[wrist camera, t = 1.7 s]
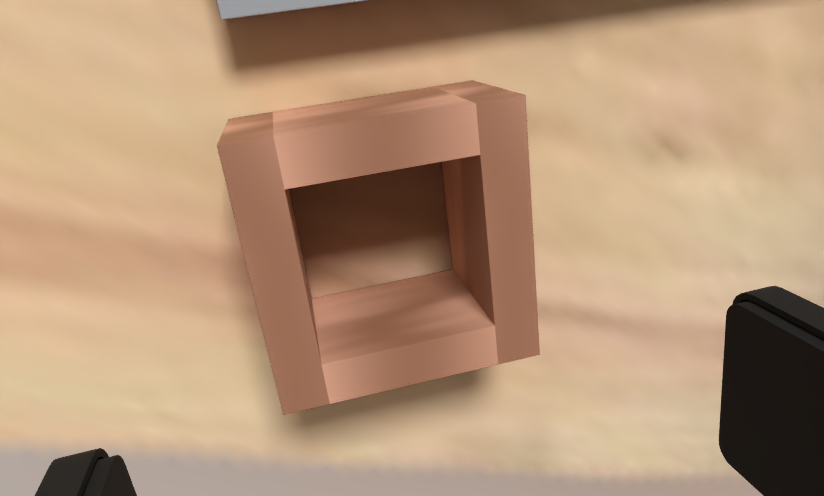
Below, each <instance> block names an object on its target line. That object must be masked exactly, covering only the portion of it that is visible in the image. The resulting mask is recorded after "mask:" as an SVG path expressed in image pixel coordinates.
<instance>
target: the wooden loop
mask: <svg viewBox="0 0 824 496" xmlns="http://www.w3.org/2000/svg"><path fill="white" fill-rule="evenodd" d="M217 148H218V152H219V156H220V160H221V164H222V168H223V173H224V177H225V181H226V185H227V189H228V193H229V197H230V201H231V205H232V209H233V213H234V217H235V221H236V225H237V229H238V233H239V237H240V241H241V245H242V249H243V253H244V257H245V262H246V266H247V270H248V274H249V278H250V282H251V286H252V290H253V294H254V298H255V302H256V306H257V310H258V314H259V318H260V322H261V326H262V330H263V334H264V338H265V342H266V346H267V351H268V355H269V359H270V363H271V367H272V371H273V375H274V379H275V383H276V387H277V391H278V395H279V399H280V403H281V407H282V411H283V415H285V414H289V413H294V412H298V411H302V410H306V409H311V408H315V407H319V406H323V405H328V404H332V403H336V402H340V401H345V400H349V399H353V398H357V397H362V396H366V395H370V394H374V393H379V392H383V391H387V390H391V389H396V388H400V387H404V386H408V385H413V384H417V383H421V382H425V381H430V380H434V379H438V378H442V377H447V376H451V375H455V374H459V373H464V372H468V371H472V370H476V369H481V368H485V367H489V366H493V365H498V364H502V363H506V362H510V361H515V360H519V359H523V358H527V357H532V356H536V355H540V351H539V333H538V314H537V296H536V278H535V260H534V241H533V223H532V205H531V187H530V169H529V150H528V132H527V114H526V96H525V95H523V94H519V93H516V92H512V91H509V90H505V89H501V88H498V87H494V86H491V85H487V84H483V83H480V82H476V81H466V82H460V83H454V84H447V85H441V86H435V87H428V88H422V89H416V90H409V91H403V92H397V93H390V94H384V95H378V96H371V97H365V98H359V99H352V100H346V101H339V102H333V103H327V104H320V105H314V106H308V107H301V108H295V109H289V110H282V111H276V112H270V113H263V114H257V115H251V116H244V117H238V118H232V119H228V122H227V124H226V126H225V128H224V131H223V133H222V135H221V138H220V140H219V142H218V144H217ZM437 162H441V165H442V174H443V183H444V192H445V201H446V210H447V219H448V229H449V238H450V247H451V256H452V265H453V270H448V271H443V272H438V273H433V274H428V275H424V276H419V277H414V278H409V279H404V280H399V281H395V282H390V283H385V284H380V285H375V286H370V287H366V288H361V289H356V290H351V291H346V292H341V293H337V294H332V295H327V296H322V297H317V298H311V293H310V288H309V284H308V279H307V274H306V269H305V264H304V260H303V255H302V250H301V245H300V240H299V236H298V231H297V226H296V221H295V216H294V212H293V207H292V202H291V197H290V192H289V189H290V188H296V187H302V186H307V185H313V184H319V183H324V182H330V181H335V180H341V179H347V178H352V177H358V176H364V175H369V174H375V173H380V172H386V171H392V170H397V169H403V168H409V167H414V166H420V165H425V164H431V163H437Z"/></svg>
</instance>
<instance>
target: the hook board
mask: <svg viewBox="0 0 824 496" xmlns="http://www.w3.org/2000/svg"><path fill="white" fill-rule="evenodd" d="M363 1H370V0H217V3H218V7H219V11H220V16H221V19H224V20H227V19H234V18H242V17H249V16H257V15H264V14H272V13H280V12H287V11H295V10H302V9H310V8H317V7H325V6H332V5H340V4H347V3H355V2H363Z"/></svg>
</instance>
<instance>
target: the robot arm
mask: <svg viewBox="0 0 824 496" xmlns="http://www.w3.org/2000/svg"><path fill="white" fill-rule="evenodd" d="M719 446H720V449H721V452H722V454H723V456H724V458H725V459H726V461H727V462H728V463H729V464H730V465H731V466H732V467H733V468H734V469H735V470H736V471H737V472H738V473H739V474H740V475H742V476H743V477H744V478H745V479H746V480H747V481H748V482H749V483H750V484H751V485H753V486H754V487H755V488H756V489H757V490H758V491H759V492H760V493H761V494H762V495H764V496H824V308H823V307H820V306H818V305H816V304H814V303H812V302H810V301H808V300H806V299H804V298H802V297H800V296H797V295H795V294H793V293H791V292H789V291H787V290H785V289H783V288H780V287H777V286H770V287H766V288H761V289H757V290H753V291H749V292H745V293H741V294H739V295H738V296H736V298H735V299H734V301H733V305H732V306H730V307H729V309H728V310H727V314H726V328H725V345H724V362H723V379H722V396H721V412H720V429H719ZM35 496H137V495H136V492H135V490H134V487H133V484H132V481H131V479H130V476H129V473H128V471H127V468H126V465H125V463H124V461H123V459H122V458H121V456H119V455H116V456H112V457H109V456H108V454H107V453H106V452H105V450H104V449H101V448H99V449H95V450H91V451H86V452H82V453H78V454H74V455H70V456H66V457H62V458H58V459H55V460H53V462H52V463H51V465H50V466H49V468H48V470H47V472H46V474H45V476H44V478H43V480H42V482H41V484H40V486H39V488H38V490H37V492H36V494H35Z"/></svg>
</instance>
